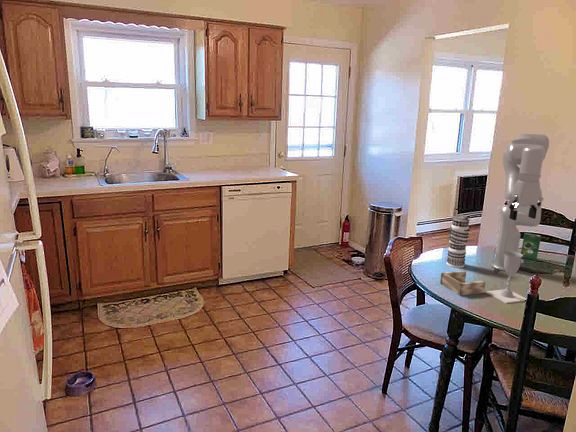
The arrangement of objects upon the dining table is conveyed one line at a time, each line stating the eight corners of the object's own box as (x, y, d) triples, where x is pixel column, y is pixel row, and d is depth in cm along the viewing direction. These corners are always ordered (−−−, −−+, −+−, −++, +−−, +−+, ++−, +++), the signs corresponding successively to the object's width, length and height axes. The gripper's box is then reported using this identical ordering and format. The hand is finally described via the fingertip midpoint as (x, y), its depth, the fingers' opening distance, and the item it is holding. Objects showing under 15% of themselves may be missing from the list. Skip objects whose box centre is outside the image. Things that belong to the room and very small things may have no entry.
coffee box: (537, 258, 236) (541, 234, 233) (537, 260, 234) (541, 236, 231) (520, 255, 240) (524, 232, 237) (519, 257, 238) (523, 233, 235)
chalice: (494, 291, 190) (500, 251, 186) (509, 291, 191) (516, 251, 187) (504, 298, 183) (510, 256, 179) (519, 298, 184) (526, 256, 180)
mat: (507, 290, 194) (507, 288, 193) (527, 300, 183) (527, 299, 183) (486, 292, 190) (486, 291, 190) (505, 303, 180) (506, 302, 180)
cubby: (463, 280, 203) (464, 270, 201) (484, 292, 190) (485, 281, 189) (440, 283, 199) (441, 272, 198) (459, 295, 187) (461, 284, 185)
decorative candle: (460, 261, 228) (466, 214, 222) (468, 268, 219) (474, 218, 213) (442, 261, 228) (448, 213, 222) (449, 267, 219) (455, 218, 213)
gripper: (538, 175, 186) (532, 214, 191) (504, 177, 182) (498, 217, 186) (553, 178, 180) (546, 219, 184) (518, 180, 175) (511, 222, 180)
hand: (522, 218), depth 185 cm, fingers open, 9 cm apart
